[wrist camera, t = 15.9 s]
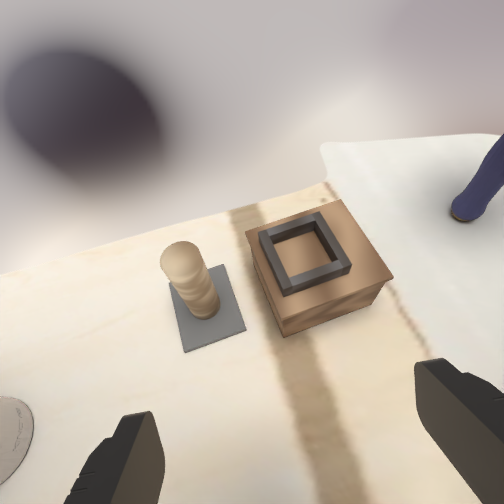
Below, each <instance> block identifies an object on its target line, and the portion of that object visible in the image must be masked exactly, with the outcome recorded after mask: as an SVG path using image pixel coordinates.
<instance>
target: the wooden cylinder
mask: <svg viewBox="0 0 504 504" xmlns="http://www.w3.org/2000/svg"><path fill="white" fill-rule="evenodd" d="M160 266H161V268H162V270H163V271H164V273H165V274H166V276H167V277H168V279H169V280H170V282H171V283H172V285H173V286H174V288H175V289H176V290H177V292H178V293H179V295H180V296H181V298H182V299H183V301H184V302H185V304H186V305H187V307H188V308H189V310H190V311H191V313H192V314H193V315H194V316H195V317H196V318H198V319H201V320H207V319H210V318H212V317H214V316H215V315H216V314H217V313H218V311H219V309H220V305H221V303H220V299H219V296H218V294H217V292H216V289H215V287H214V284H213V282H212V280H211V277H210V275H209V273H208V270H207V268H206V266H205V263H204V261H203V258H202V256H201V254H200V251H199V249H198V248H197V246H196V245H194V244H193V243H190V242H186V241H181V242H176V243H174V244H172V245H170V246H168V247H167V248H166V249H165V250H164V252H163V253H162V255H161V258H160Z"/></svg>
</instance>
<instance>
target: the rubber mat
mask: <svg viewBox="0 0 504 504" xmlns="http://www.w3.org/2000/svg"><path fill="white" fill-rule="evenodd" d="M207 270H208V273H209V275H210V277H211V280H212V282H213V284H214V287H215V289H216V292H217V294H218V296H219V299H220V303H221V305H220V309H219V311H218V313H217V314H216V315H215V316H214V317H212V318H210V319H207V320H201V319H198V318H196V317H195V316H194V315H193V314H192V313H191V311H190V310H189V308H188V307H187V305H186V304H185V302H184V301H183V299H182V298H181V296H180V295H179V293H178V292H177V290H176V289H175V288H174V286H173V285H172V283H171V282H170V283H169V286H170V291H171V295H172V300H173V304H174V309H175V313H176V318H177V322H178V327H179V331H180V336H181V340H182V345H183V349H184V352H185V353H187V352H190V351H192V350H195V349H198V348H200V347H203V346H206V345H208V344H211V343H214V342H217V341H219V340H222V339H225V338H227V337H230V336H233V335H235V334H238V333H241V332H243V331H246V328H245V325H244V322H243V319H242V316H241V313H240V310H239V307H238V304H237V301H236V299H235V296H234V293H233V290H232V287H231V284H230V281H229V278H228V275H227V273H226V270H225V267H224V264H222V265H219V266H216V267H213V268H210V269H207Z"/></svg>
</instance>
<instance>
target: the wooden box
mask: <svg viewBox="0 0 504 504" xmlns="http://www.w3.org/2000/svg"><path fill="white" fill-rule="evenodd" d="M245 234H246V237H247V239H248V242H249V244H250V246H251V251H252V257H253V262H254V266H255V269H256V271H257V274H258V276H259V279H260V281H261V284H262V286H263V289H264V291H265V293H266V296H267V298H268V301H269V303H270V306H271V308H272V311H273V313H274V315H275V318H276V320H277V323H278V325H279V328H280V330H281V333H282V335H283V338H284V337H287V336H289V335H292V334H295V333H297V332H300V331H302V330H305V329H308V328H310V327H313V326H316V325H318V324H321V323H324V322H326V321H329V320H331V319H334V318H337V317H339V316H342V315H345V314H347V313H350V312H353V311H355V310H358V309H360V308H363V307H366V306H368V305H371V304H372V303H373V301H374V300H375V298H376V296H377V295H378V293H379V292H380V290H381V288H382V287H383V285H384V284H385V282H387V281H389V280H392V279H393V277H394V276H393V275H392V273H391V272H390V270H389V269H388V268H387V266H386V265H385V263H384V262H383V260H382V259H381V257H380V256H379V254H378V253H377V251H376V250H375V249H374V247H373V246H372V244H371V243H370V241H369V240H368V238H367V237H366V235H365V234H364V232H363V231H362V230H361V228H360V227H359V225H358V224H357V222H356V221H355V219H354V218H353V216H352V215H351V213H350V212H349V211H348V209H347V208H346V206H345V205H344V203H343V202H342V200H341V199H340V200H337V201H334V202H331V203H328V204H325V205H322V206H319V207H316V208H313V209H310V210H307V211H304V212H301V213H299V214H296V215H293V216H290V217H287V218H284V219H281V220H278V221H275V222H272V223H269V224H266V225H263V226H260V227H257V228H254V229H251V230H248V231H245Z"/></svg>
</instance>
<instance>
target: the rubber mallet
mask: <svg viewBox="0 0 504 504" xmlns="http://www.w3.org/2000/svg"><path fill="white" fill-rule="evenodd" d="M503 185H504V134H503V135H502V136H501V137H500V138H499V140H498V141H497V142H496V143H495V144H494V145H493V147H492V148H491V149H490V151H489V152H488V153H487V155H486V156H485V158H484V160H483V162H482V164H481V166H480V168H479V170H478V171H477V173H476V175H475V176H474V177H473V179H472V180H471V182H470V183H469V184H468V186H467V187H466V188H465V190H464V191H463V192H462V193H461V194H460V195H458V196H457V197H456V198H455V199H454V200H453V202H452V214H453V216H454V217H455V218H457V219H458V220H462V221H470V220H473V219H477V218H478V217H480V216H481V215H482V214H483V213H484V211H485V209H486V206H487V204H488V203H489V201H490V200H491V199H492V198H493V197H494V195H495V194H496V193H497V192H498V191H499V189H500V188H501V187H502V186H503Z"/></svg>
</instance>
